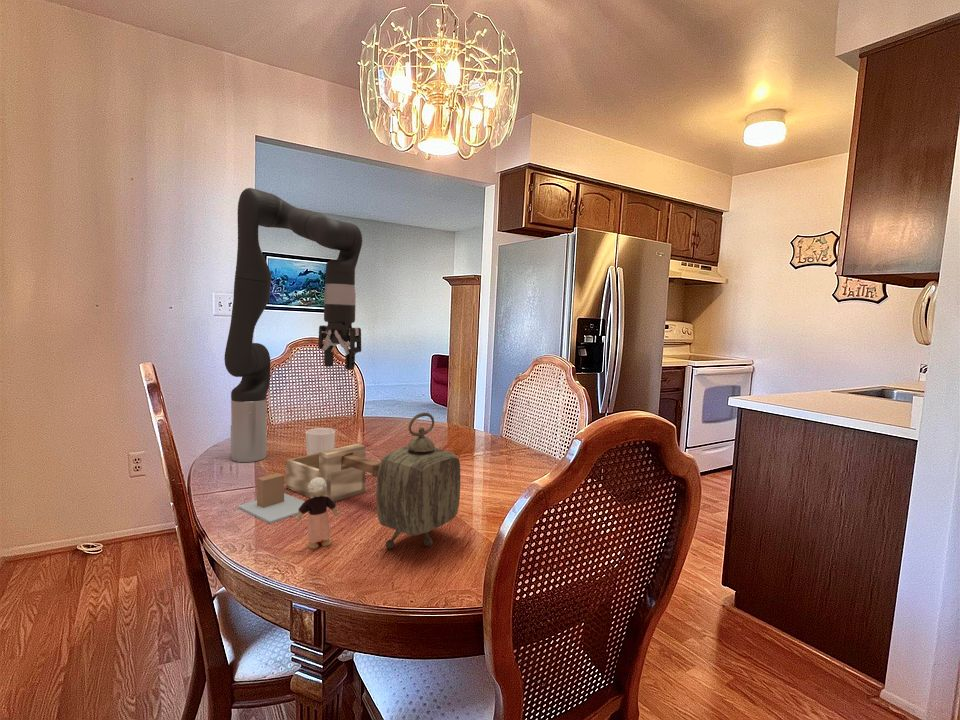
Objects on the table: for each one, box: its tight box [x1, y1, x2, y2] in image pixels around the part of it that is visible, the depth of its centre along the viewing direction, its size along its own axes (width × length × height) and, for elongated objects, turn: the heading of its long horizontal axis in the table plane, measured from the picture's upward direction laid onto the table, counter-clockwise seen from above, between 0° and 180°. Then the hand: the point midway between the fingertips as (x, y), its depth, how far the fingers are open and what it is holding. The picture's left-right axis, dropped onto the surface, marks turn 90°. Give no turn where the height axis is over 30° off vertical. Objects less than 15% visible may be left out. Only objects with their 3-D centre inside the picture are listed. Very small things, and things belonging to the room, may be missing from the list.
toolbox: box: [285, 443, 367, 503], centre depth 123 cm, size 16×11×11 cm
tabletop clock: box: [375, 412, 461, 550], centre depth 96 cm, size 14×9×25 cm, turn 145°
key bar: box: [341, 454, 380, 478], centre depth 115 cm, size 12×3×2 cm, turn 53°
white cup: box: [305, 427, 336, 455], centre depth 142 cm, size 8×8×10 cm
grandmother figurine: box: [294, 477, 340, 549], centre depth 94 cm, size 8×4×13 cm, turn 131°
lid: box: [236, 472, 306, 525], centre depth 111 cm, size 13×11×7 cm
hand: (338, 368), depth 128 cm, fingers open, 8 cm apart
